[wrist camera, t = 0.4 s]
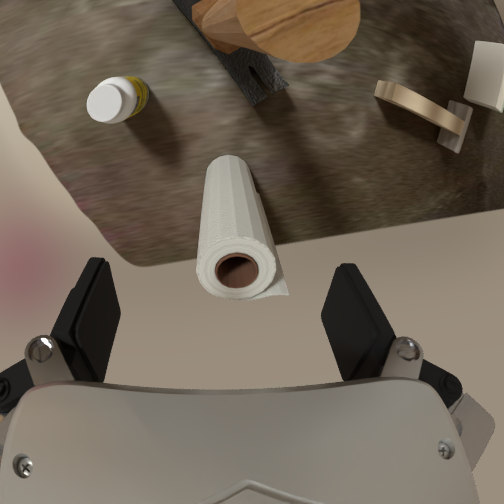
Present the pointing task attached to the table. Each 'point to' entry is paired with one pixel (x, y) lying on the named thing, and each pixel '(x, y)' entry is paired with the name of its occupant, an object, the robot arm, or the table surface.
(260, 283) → the paper towel roll
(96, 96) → the supplement bottle
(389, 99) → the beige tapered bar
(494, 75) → the tile
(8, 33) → the table surface
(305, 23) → the hammer
